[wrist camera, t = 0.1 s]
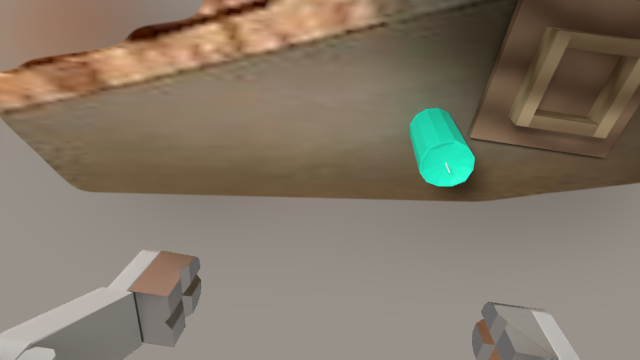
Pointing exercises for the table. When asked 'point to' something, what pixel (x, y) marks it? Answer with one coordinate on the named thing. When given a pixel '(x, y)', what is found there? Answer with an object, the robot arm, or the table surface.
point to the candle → (440, 148)
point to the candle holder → (564, 77)
